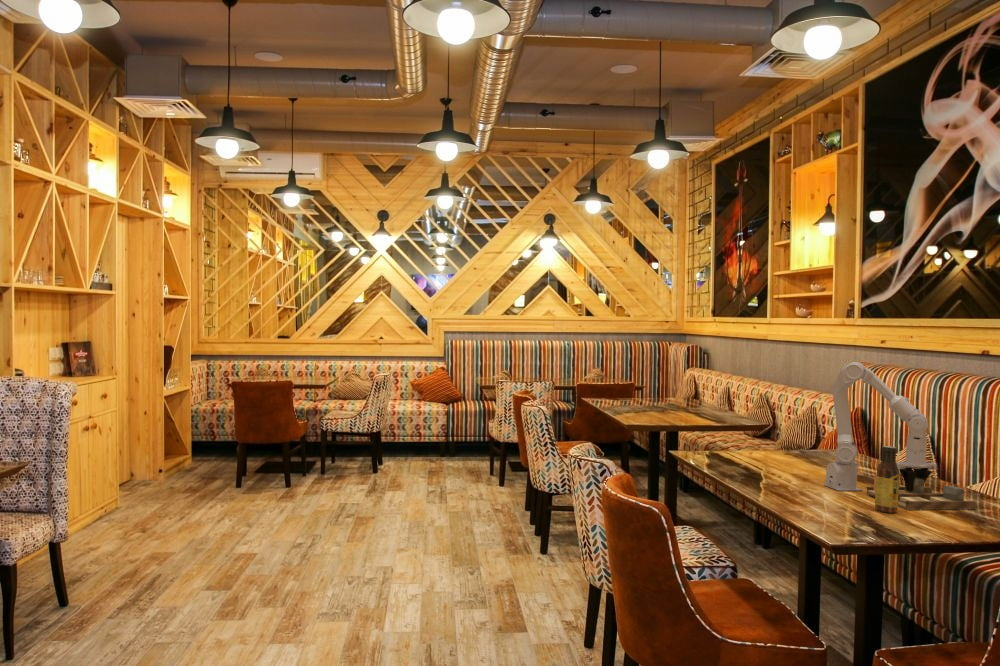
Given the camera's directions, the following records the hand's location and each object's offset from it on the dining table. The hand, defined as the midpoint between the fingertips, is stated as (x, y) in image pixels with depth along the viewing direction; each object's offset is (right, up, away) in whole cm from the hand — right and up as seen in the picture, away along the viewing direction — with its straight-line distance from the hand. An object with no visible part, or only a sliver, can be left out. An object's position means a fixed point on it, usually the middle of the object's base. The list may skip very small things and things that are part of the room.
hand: (913, 490), depth 238 cm
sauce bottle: (-19, -3, -18) cm, 26 cm away
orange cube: (-11, 0, -2) cm, 11 cm away
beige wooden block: (-6, -2, -1) cm, 7 cm away
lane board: (-1, -3, -5) cm, 5 cm away
